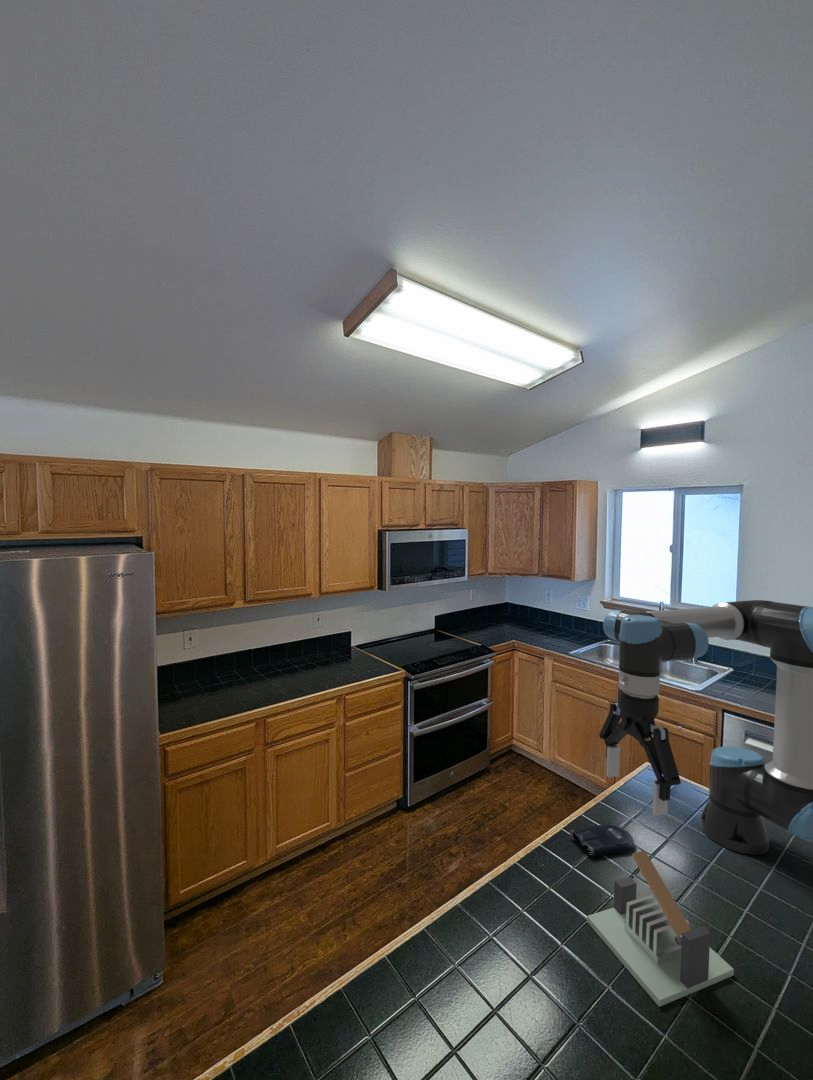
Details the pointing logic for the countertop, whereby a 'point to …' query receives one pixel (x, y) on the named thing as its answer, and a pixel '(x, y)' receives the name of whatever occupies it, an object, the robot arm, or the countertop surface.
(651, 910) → the heatsink
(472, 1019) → the countertop surface
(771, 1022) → the countertop surface
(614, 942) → the board
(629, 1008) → the countertop surface
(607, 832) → the electronic device
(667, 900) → the strap
